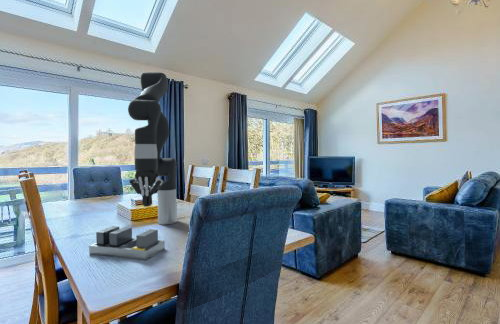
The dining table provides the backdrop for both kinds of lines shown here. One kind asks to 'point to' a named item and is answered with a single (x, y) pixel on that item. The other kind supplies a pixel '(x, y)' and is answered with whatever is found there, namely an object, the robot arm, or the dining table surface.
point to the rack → (122, 244)
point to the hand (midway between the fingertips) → (147, 206)
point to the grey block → (147, 239)
